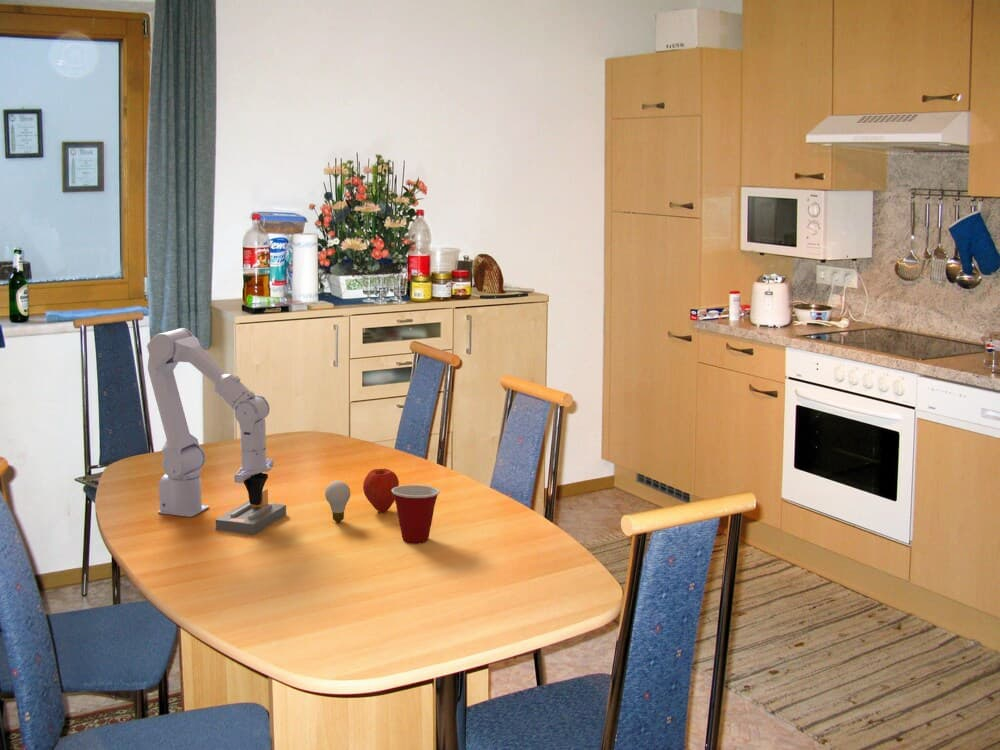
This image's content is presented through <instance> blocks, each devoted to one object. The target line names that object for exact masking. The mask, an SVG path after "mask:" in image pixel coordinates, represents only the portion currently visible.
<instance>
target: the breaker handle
mask: <svg viewBox="0 0 1000 750" xmlns="http://www.w3.org/2000/svg"><path fill="white" fill-rule="evenodd" d="M268 489H269V488H265V487H263V490H262V497H261V503H260V504H259V505H252V506H253V507H264V506H266V505H267V504H268V503H269V493H268V492H269V491H268Z"/></svg>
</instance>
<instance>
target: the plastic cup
mask: <svg viewBox="0 0 1000 750" xmlns="http://www.w3.org/2000/svg"><path fill="white" fill-rule="evenodd" d="M391 491H392V493H393V495H394V499H395V501H394V503H395V506H396V512H397V518H398V523H399V527H400V533H401V537H402V541H403V542H404V543H405V544H409V543H410V545H420V544H419V543H421V544H424V543H423V542H425V543H426V541H427V542H428V540H429V537H430V532H431V526H432V523H433V517H434V511H435V505H436V502H437V500H438V496H439V494H440V492H441V491H440V489H439V488H437V487H434V486H431V485H429V486H428V485H421V484H420V485H419V484H408V485H407V484H406V485H399V486H398V487H395V488H393V489H392V490H391Z"/></svg>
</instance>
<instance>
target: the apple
mask: <svg viewBox="0 0 1000 750" xmlns="http://www.w3.org/2000/svg"><path fill="white" fill-rule="evenodd" d="M398 486H400V481H399V478H398V476H397V474H396V472H394V471H392V470H391V469H388V468H374V469H372V470H370V471H369V472H368V473H367V475H366V476H365V478H364V480H363V486H362V489H363V493H364V496H365V497H366V499H367V501H368V502H369V503H370V504H371V506H372V507H373V508H374V509H375V510H376V511H377V512H380V513H387V511H389V509H390V508H391V507H392V505H393V504H394V503H395V499H394V495H393V493H392V491H391V490H392V489H393V488H395V487H398Z"/></svg>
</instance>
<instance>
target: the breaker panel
mask: <svg viewBox="0 0 1000 750" xmlns="http://www.w3.org/2000/svg"><path fill="white" fill-rule="evenodd" d="M285 516H287V505H286V504H281V503H274V502H268V504H267V505H266V506H264V507H253V506H252V504H250V501H249V500H247V501H246V502H244V503H242V504H241V505H239V506H237V507H235V508H234V509H231V510H230V511H228V512H227V513H225V514H222V515H221V516H220V517H217V518H216V519H215V531H220V532H228V533H229V532H230V533H237V534H245V535H251V536H255V535H257V534H258V533H259V532H262V531H263V530H264V529H266V528H268V527H269V526H271V525H273V524H275V522H278V521H279V520H280V519H282V518H284V517H285Z"/></svg>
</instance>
